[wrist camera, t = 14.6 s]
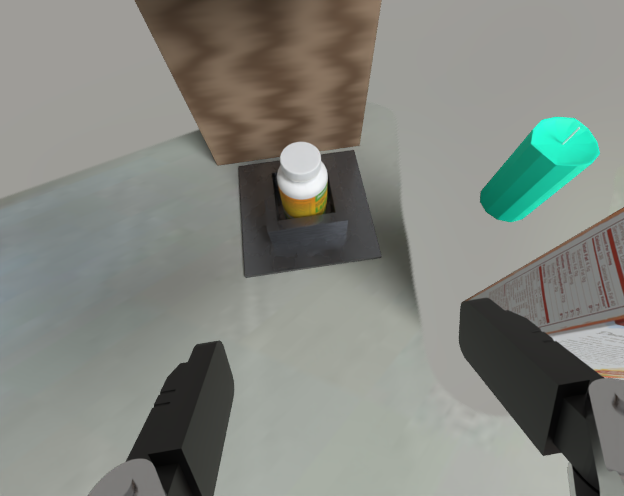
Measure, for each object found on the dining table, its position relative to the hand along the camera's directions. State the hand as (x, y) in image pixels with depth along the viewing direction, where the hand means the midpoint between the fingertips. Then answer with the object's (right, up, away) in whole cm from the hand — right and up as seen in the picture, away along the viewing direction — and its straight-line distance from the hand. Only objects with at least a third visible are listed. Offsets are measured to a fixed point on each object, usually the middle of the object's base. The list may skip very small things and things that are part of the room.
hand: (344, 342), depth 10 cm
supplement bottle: (-2, +8, +28) cm, 29 cm away
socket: (-2, +8, +28) cm, 29 cm away
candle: (+23, +9, +28) cm, 37 cm away
